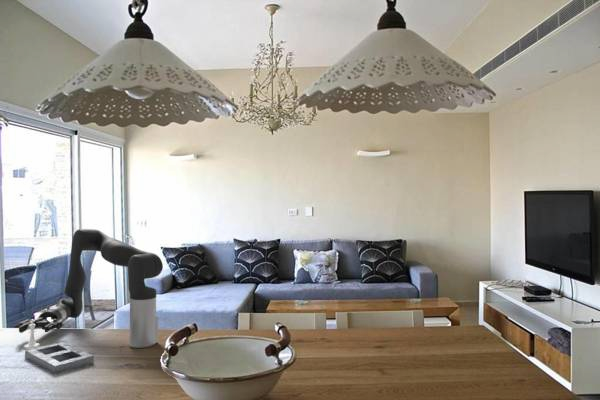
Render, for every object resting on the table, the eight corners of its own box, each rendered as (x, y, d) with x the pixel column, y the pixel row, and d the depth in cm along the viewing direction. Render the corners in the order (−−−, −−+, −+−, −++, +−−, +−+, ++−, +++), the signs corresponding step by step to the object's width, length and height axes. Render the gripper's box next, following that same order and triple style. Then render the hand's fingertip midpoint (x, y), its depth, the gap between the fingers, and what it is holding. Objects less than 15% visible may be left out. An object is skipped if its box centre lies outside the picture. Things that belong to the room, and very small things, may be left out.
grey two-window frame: (62, 348, 157) (62, 341, 157) (93, 363, 143) (93, 355, 143) (24, 357, 147) (25, 350, 147) (54, 374, 134) (55, 366, 134)
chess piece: (43, 345, 160) (43, 317, 160) (33, 349, 155) (34, 321, 155) (30, 344, 161) (30, 317, 161) (20, 349, 156) (21, 320, 156)
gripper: (33, 308, 174) (12, 319, 158) (71, 308, 176) (54, 318, 160) (33, 327, 174) (11, 340, 158) (71, 327, 176) (54, 339, 159)
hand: (33, 329), depth 159 cm, fingers open, 8 cm apart
